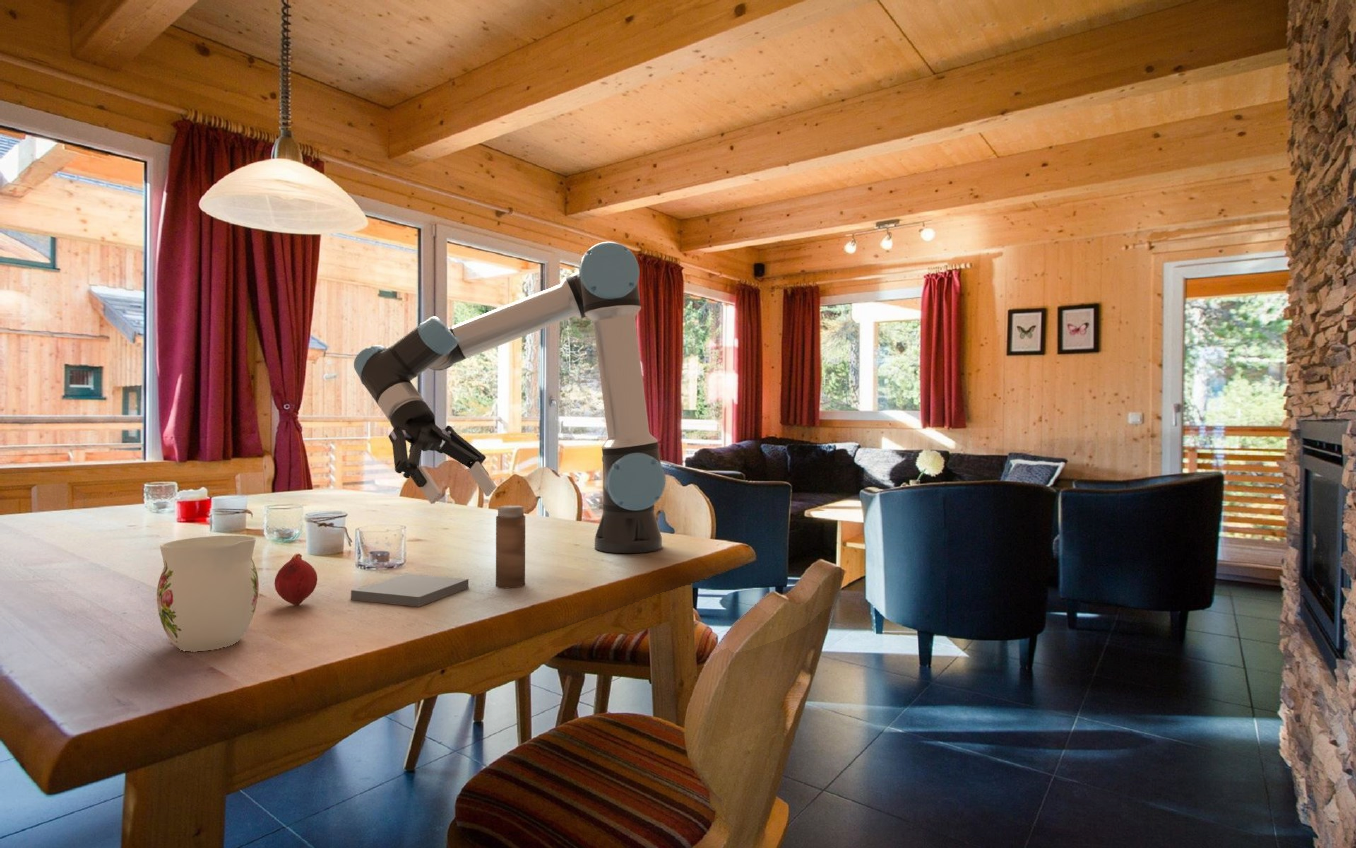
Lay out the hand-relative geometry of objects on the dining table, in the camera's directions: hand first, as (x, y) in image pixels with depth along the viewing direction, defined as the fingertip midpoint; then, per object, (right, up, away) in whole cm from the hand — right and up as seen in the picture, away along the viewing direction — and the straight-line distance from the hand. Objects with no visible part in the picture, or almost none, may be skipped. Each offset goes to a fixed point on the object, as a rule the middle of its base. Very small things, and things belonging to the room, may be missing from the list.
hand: (465, 495), depth 132 cm
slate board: (-6, -15, -12) cm, 20 cm away
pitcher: (-22, -16, -38) cm, 47 cm away
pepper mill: (+9, -15, -5) cm, 19 cm away
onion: (-21, -15, -19) cm, 32 cm away
